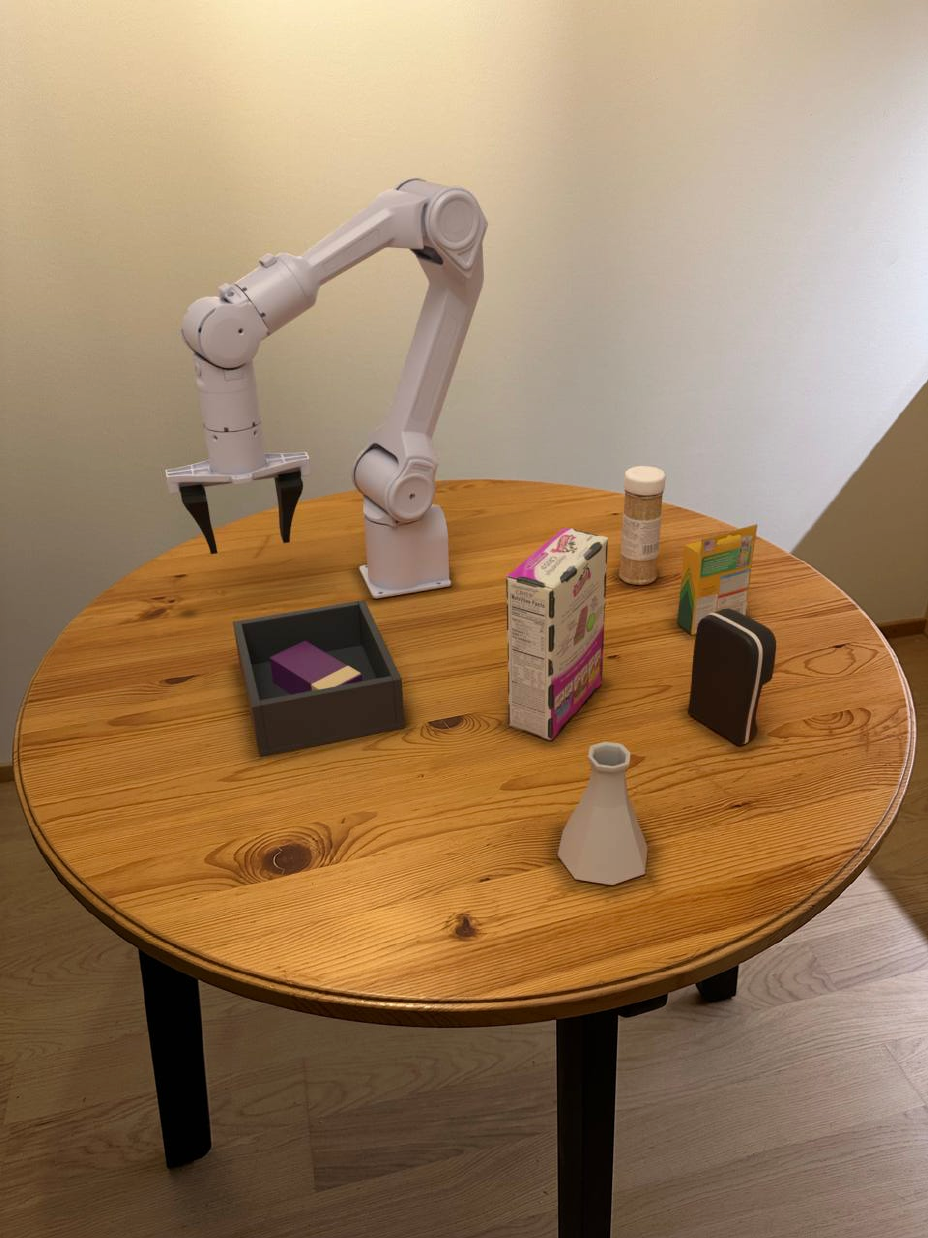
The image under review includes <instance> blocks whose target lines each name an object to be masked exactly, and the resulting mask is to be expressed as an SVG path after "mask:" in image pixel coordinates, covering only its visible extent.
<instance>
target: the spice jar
mask: <svg viewBox="0 0 928 1238" xmlns="http://www.w3.org/2000/svg"><path fill="white" fill-rule="evenodd" d="M666 479H667V478H666V473H665V471H663V470H662V469H661V468H658V467H655V466H649V465H639V466H633V467H630V468H629V469H626V470H625V472H624V479H623V488H624V490H623V491H624V503H623V511H622V524H621V525H622V526H621V539H620V540H621V541H620V542H621V543H620V565H619V571H618V577H619V579H621V580H622V581H623V582H624V583H627V584H628V585H634V586H645V585H649V584H652V583H653V582H655V581H656V579H657V577H658V572H657V566H658V565H657V564H658V556H659V552H660V541H661V528H662V518H663V517H662V516H663V515H662V508H663V494H664V492H665V489H666Z"/></svg>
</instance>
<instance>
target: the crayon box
mask: <svg viewBox="0 0 928 1238" xmlns="http://www.w3.org/2000/svg"><path fill="white" fill-rule="evenodd" d="M757 531H758V524H757V523H755V524H753V525H748V526H744V527H740V528H737V529H733V530H729V531H725V532H721V533H717V534H713V535H710V536H706V537H702V538H701V540H698V541H694V542H690V543H686V544H684V545H683V554H682V555H683V556H682V565H681V577H680V578H681V579H680V589H679V599H678V600H679V601H678V609H677V610H678V611H677V620H676V624H677V626H679V627H680V628H681V629H683V631H685V632H687V633H688V634H689V635H691V636H692V637H693V636H696V631H697V626H698V623H699V621H700V620H701V619H702V618H703V617H704V616H705V615H707V614H709V613H714V612H717V611H719V610H721V609H726V608H729V609H732V610H735V611H737V612H739V613H741V614H743V615H746V616H747V607H748V600H749V599H748V598H749V591H750V582H751V574H752V568H753V559H754V552H755V551H754V550H755V542H756V538H757Z"/></svg>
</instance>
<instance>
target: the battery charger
mask: <svg viewBox="0 0 928 1238" xmlns="http://www.w3.org/2000/svg"><path fill="white" fill-rule="evenodd" d="M776 655H777V639H776V636H775V634H774V632H773V631H772V629H770V628H769V627H767V626H766V625H764V624H762V623H761V622H759V621H757V620H755V619H753V618H751V617H750V616H748V615H747V614H746V615H743V614H741V613H739V612H737V611H735V610H732V609H729V608H726V609H721V610H719V611H717V612H714V613H709V614H707V615H705V616H704V617H703V618H702V619H701V620H700V621H699V623H698V626H697V631H696V635H695V638H694V645H693V655H692V666H691V683H690V693H689V701H688V708H687V713H688V714H689V715H691V716H692V717H693V718H695V720H697V721H699V722H701V723H702V724H704V725H705V726H707V727H709V728H710V729H711V730H712V731H714V732H715V733H718V734H719V735H721V736H722V737H724V738H725V739H727V740H729V741H730V742H733V743H734V744H735V745H738V746H742V745H745V744H747V743H748V742H749V741H751V740H752V739H754V738H755V737H756V735H757V734H758V726H757V719H756V717H757V710H758V706H759V702H760V697H761V692H762V689H763V686H764V685H767V684H768V683H769V682H771V681H772V679H773V676H774V670H775V663H776Z"/></svg>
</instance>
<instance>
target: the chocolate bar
mask: <svg viewBox="0 0 928 1238" xmlns="http://www.w3.org/2000/svg"><path fill="white" fill-rule="evenodd" d="M270 664H271V671H272V678H273V683H275V684H276V685H278V686H279V687H281V688H282V689H284V690H285V691H287V692H288V693H290V694H291V695H292V694H298V693H303V692H308V691H314V690H319V689H324V688H330V687H335V686H340V685H345V684H351V683H356V682H361V681H362V674H361V673H360V672H358V671H356V670H355V669H353V668H351V667H350V666H347V665H345V664H344V663H342V662H340V661H339V660H337V659H335V658H334V657H332V656H330V655H329V654H327V653H325V652H324V651H322V650H320V649H318V648H317V647H315V646H313V645H312V644H310V643H308V642H307V641H303V642H301V643H299V644H297V645H295V646H293V647H291V648H289V649H287V650H284V651H282V652H280V653H278V654H276V655H274V656H272V657H270Z"/></svg>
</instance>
